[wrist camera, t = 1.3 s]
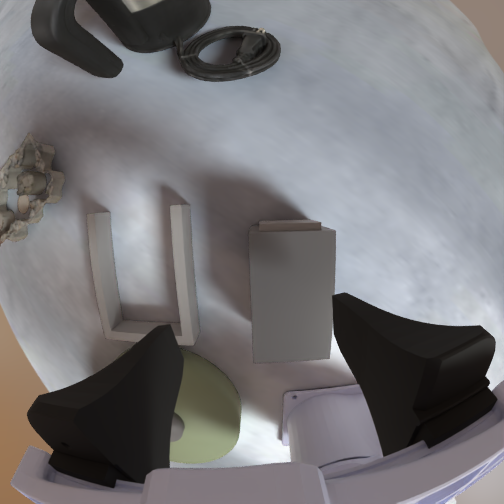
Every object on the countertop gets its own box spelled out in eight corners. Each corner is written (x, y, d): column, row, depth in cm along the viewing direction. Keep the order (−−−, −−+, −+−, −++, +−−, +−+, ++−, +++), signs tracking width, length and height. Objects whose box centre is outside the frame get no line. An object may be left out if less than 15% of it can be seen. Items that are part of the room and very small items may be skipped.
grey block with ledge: (251, 220, 21) (247, 225, 15) (314, 218, 20) (335, 223, 15) (255, 324, 22) (253, 363, 16) (313, 321, 22) (329, 358, 16)
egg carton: (19, 247, 22) (-6, 254, 18) (3, 191, 21) (-21, 192, 17) (74, 195, 21) (45, 195, 17) (54, 133, 20) (28, 126, 16)
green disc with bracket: (229, 202, 20) (221, 201, 16) (245, 448, 24) (243, 474, 20) (77, 215, 21) (49, 218, 17) (130, 435, 25) (119, 456, 21)
